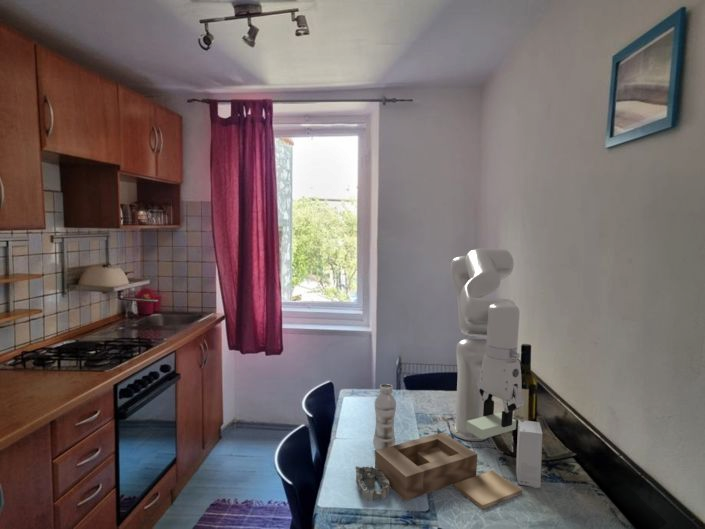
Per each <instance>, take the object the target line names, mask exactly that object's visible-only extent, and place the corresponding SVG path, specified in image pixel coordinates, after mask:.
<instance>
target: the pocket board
mask: <svg viewBox="0 0 705 529" xmlns="http://www.w3.org/2000/svg"><path fill="white" fill-rule="evenodd" d="M374 452H375V454H374V457H375V458H374V468H377V467H378V468H379V469H380V471H381V472H382V473H384V474H385V477H386V478H387V479H388V481H389V483H390V484H389V485H390V487H391V488H390V487H389V488H390V489H391V490H392V491H393V492H395V493H396V494H397V496H398V497H400V498H401V499H402V500H403V501H404V502H407V501H411V500H412V499H417V498H419V497H421V496H422V497H423V496H424V495H429V494H430V493H433V492H436V491H439V490H442V489H444V488H447V487H451V486H454V483H457V482H460V481H463V480H466V479H469V478H472V477H474V476H477V472H478V471H477V467H478V453H477V452H475V451H474V450H472V449H470V448H469V447H467V446H466V445H464V444H462V443H461V442H459V441H458V440H456V439H454V438H453V437H451V436H450V435H448V434H446V433H445V432H438V433H436V434H432V435H428V436H424V437H421V438H417V439H412V440H410V441H405V442H403V443H399V444H395V445H394V446H390V447H387V448H383V449H379V450H376V449H375V451H374Z"/></svg>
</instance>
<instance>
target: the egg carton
mask: <svg viewBox="0 0 705 529" xmlns="http://www.w3.org/2000/svg"><path fill="white" fill-rule="evenodd" d="M355 474H356V475H355V482H356V484H358V489H359V491H361V493H362V494H361V495H362V496H361V497H362V499H363V500H366V501H367V500H368V501H369V502H373V501H374V499H376V498H379V497H380V498H379V499H381V500H386V499H387V497H389V493H390V485H389V484H390V483H389V481H388V479H387V478H386V477H385V474H384V473H382V472H381V471H380V469H379V468H378V467H377V468H375V467H373V466H362V467H360V466H355ZM376 477H377V478H376ZM363 479H364V480H365V481H364V480H363ZM376 479H378V480H377V481H378V485H380V484H381V485H380V486H381V489H375V488H372V487H375V485H376V484H375V483H376ZM367 487H369V488H371V489H370V490H369V489H368V488H367Z"/></svg>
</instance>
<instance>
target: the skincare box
mask: <svg viewBox="0 0 705 529" xmlns="http://www.w3.org/2000/svg"><path fill="white" fill-rule="evenodd" d="M542 429H543V428H542V426H541V423H540V422H539V421H531V420H525V419H523V420H522V419H518V420H517V438H516V439H517V440H516V442H517V443H516V459H515V460H516V461H515V462H516V463H515V472H516V473H515V474H516V479H517V484H518V485H520V486H527V487H530V488H534V489H541V485H542V484H541V481H542V478H541V476H542V475H541V474H542V452H543V430H542Z"/></svg>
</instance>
